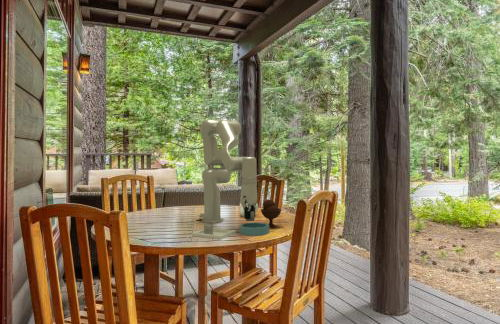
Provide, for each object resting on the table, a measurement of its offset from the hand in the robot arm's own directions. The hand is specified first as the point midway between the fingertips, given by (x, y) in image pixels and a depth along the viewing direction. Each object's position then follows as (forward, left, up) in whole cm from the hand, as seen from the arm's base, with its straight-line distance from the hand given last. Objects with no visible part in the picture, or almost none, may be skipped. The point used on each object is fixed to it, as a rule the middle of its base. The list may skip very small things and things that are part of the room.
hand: (249, 217), depth 179 cm
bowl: (+2, 0, -8) cm, 8 cm away
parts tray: (-13, -13, -8) cm, 20 cm away
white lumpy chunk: (-23, +43, -8) cm, 49 cm away
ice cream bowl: (+3, +18, -8) cm, 20 cm away
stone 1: (-16, -13, -7) cm, 22 cm away
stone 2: (0, 0, -1) cm, 1 cm away
